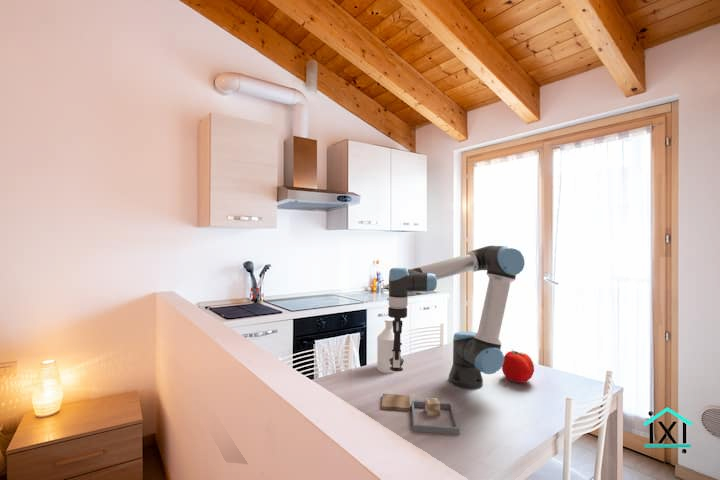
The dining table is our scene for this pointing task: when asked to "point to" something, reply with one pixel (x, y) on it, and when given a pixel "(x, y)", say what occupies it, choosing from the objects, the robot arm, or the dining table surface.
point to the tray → (431, 427)
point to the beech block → (432, 406)
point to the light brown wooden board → (396, 402)
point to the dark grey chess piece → (392, 363)
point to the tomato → (517, 367)
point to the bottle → (385, 347)
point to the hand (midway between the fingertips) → (396, 364)
